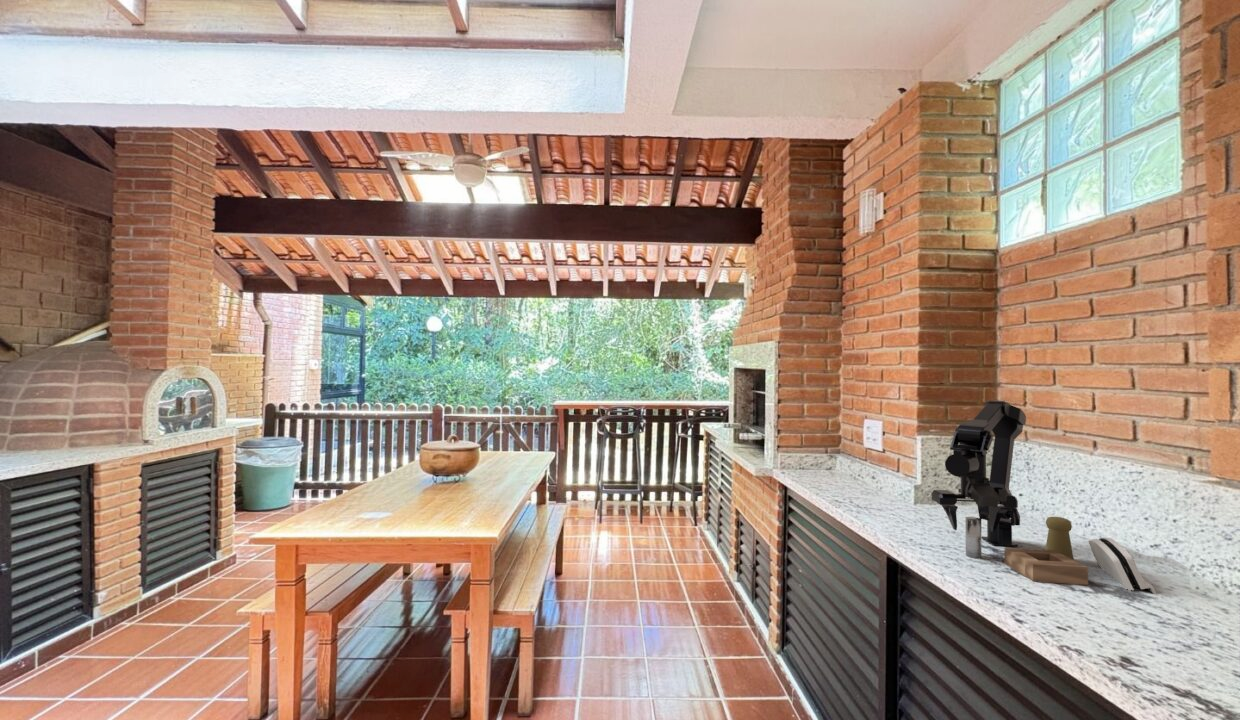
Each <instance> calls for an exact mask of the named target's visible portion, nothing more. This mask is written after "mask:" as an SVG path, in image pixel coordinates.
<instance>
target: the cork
mask: <svg viewBox="0 0 1240 720" xmlns="http://www.w3.org/2000/svg"><path fill="white" fill-rule="evenodd" d="M1045 525H1046V527H1047V529H1048V530H1047V531H1048V532H1047V537H1046V544H1045V549H1044V550H1055V551H1057V552H1059V553H1061V554H1063V555H1065V556H1067V557H1069V558H1070V559H1072V560H1074V561H1075V559H1074V554H1073V548H1072V547H1073V546H1072V541H1071V536H1070V532H1071V531H1072V528H1073V525H1072V522H1071V521H1070V520H1069V519H1067V518H1064V517H1062V516H1048V517H1047V518H1046V519H1045Z"/></svg>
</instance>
